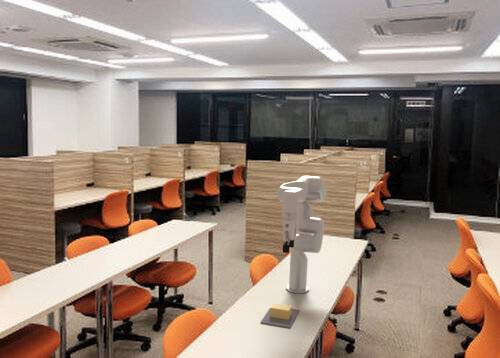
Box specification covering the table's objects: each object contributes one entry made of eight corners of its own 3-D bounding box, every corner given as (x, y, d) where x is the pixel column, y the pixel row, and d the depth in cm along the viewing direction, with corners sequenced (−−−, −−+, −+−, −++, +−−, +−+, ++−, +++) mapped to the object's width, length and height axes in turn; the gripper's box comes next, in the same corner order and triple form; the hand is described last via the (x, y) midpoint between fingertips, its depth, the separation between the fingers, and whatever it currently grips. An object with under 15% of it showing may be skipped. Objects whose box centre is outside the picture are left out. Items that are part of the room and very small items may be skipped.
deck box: (291, 314, 218) (291, 305, 217) (288, 319, 212) (288, 310, 212) (273, 311, 221) (273, 302, 220) (269, 316, 215) (270, 307, 214)
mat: (272, 306, 228) (272, 305, 228) (299, 310, 224) (299, 309, 224) (260, 323, 209) (260, 321, 209) (290, 328, 205) (290, 327, 205)
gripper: (293, 220, 210) (291, 255, 212) (301, 212, 226) (299, 246, 229) (277, 218, 212) (276, 253, 215) (286, 211, 229) (285, 244, 231)
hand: (288, 249), depth 222 cm, fingers open, 9 cm apart
